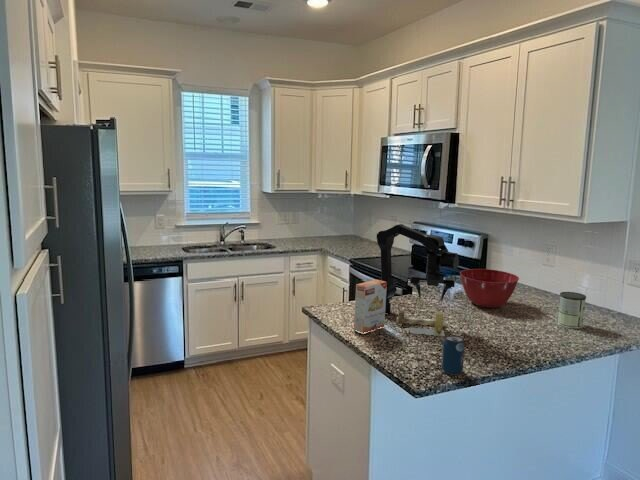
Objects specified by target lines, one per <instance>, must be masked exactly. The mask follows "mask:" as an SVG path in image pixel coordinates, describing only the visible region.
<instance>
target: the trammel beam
mask: <svg viewBox="0 0 640 480" xmlns="http://www.w3.org/2000/svg"><path fill="white" fill-rule="evenodd" d="M396 322H398V323H397V325H398V324H400V326H399V327H400V328H402V327H403V326H402V325H405V324H404V323H409V324H408V325H414V324H421V325H420V326H427V325H430V327H435V318H434V319H433V318H431V319H430V318H421V317H420V318H417V317H408V316H407V317H406V316H405V310H398V316H396ZM443 326H444V325H442V328H443Z"/></svg>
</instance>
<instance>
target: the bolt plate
mask: <svg viewBox="0 0 640 480" xmlns="http://www.w3.org/2000/svg"><path fill="white" fill-rule="evenodd" d="M408 327H409V326H408ZM408 330H410V332H411V333H414V334H413V335H419V334H425V335H424V336H431V335H434V336H433V337H443V336H444V337H445V338H446V335H445V331H444V329H442V330H440V331H438V330H436V329H435V328H423V327H412V326H411V327H409V329H408Z"/></svg>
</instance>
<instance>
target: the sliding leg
mask: <svg viewBox="0 0 640 480" xmlns="http://www.w3.org/2000/svg"><path fill="white" fill-rule="evenodd" d="M434 315H435V316H434V319H435V326H434V329H436V330H438V331H440V330H443V327H442V325H443V324H444V313H443V312H440V311H435V314H434ZM443 326H444V325H443Z"/></svg>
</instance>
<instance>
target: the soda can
mask: <svg viewBox="0 0 640 480" xmlns="http://www.w3.org/2000/svg"><path fill="white" fill-rule="evenodd" d="M442 344H443V345H442V360H441V369H442V370H443V372H444V373H445V374H446V375H449V374H450V375H449V376H459V375H461V373H462V372H463V370H464V361H465V360H464V358H465V346H466V345H465V342H464V339H463V337H461V336H459V335H455V334H453V335H451V334H450V335H445V338H444V340H443V343H442Z"/></svg>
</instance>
